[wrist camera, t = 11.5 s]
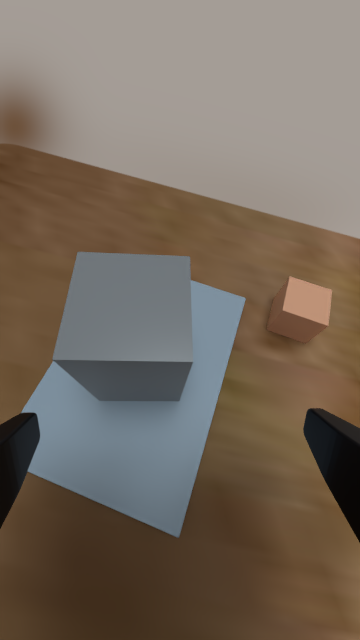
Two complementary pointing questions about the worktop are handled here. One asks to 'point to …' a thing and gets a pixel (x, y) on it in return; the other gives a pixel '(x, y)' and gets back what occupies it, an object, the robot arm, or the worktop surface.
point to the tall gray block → (128, 326)
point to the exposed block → (300, 310)
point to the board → (138, 427)
